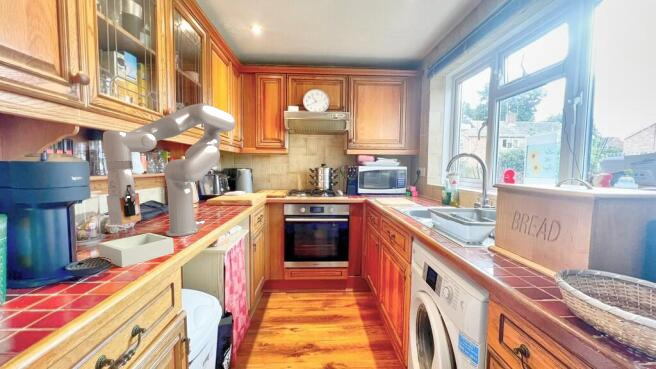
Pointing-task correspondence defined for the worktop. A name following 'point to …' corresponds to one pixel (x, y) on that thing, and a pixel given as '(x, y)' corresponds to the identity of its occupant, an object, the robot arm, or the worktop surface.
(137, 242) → the storage bin
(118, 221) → the small box
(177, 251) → the worktop surface
